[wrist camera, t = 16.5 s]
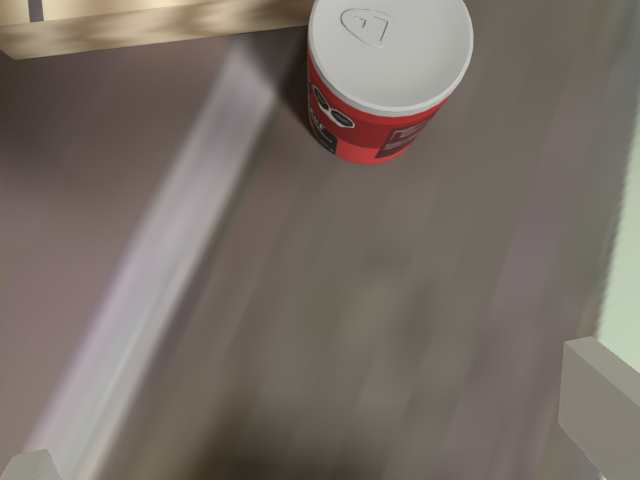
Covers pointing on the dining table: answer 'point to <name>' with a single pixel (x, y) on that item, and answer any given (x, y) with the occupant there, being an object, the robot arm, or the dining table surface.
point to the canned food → (382, 71)
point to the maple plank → (134, 22)
